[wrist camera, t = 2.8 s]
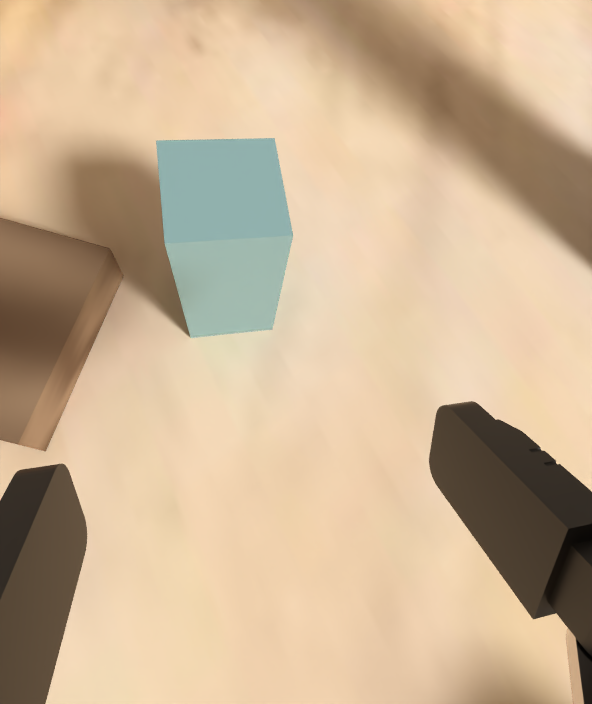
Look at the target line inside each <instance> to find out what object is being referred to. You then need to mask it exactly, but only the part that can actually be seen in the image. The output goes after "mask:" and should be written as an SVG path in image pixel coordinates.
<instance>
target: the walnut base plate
mask: <svg viewBox="0 0 592 704" xmlns="http://www.w3.org/2000/svg"><path fill="white" fill-rule="evenodd" d="M122 278H123V274H122V272H121V270H120V268H119V266H118V264H117V262H116V260H115V258H114V256H113V254H112V252H111V250H110V249H109V248H106V247H102V246H99V245H95V244H92V243H88V242H84V241H81V240H77V239H74V238H70V237H66V236H63V235H59V234H56V233H52V232H48V231H45V230H41V229H38V228H34V227H31V226H27V225H23V224H20V223H16V222H13V221H9V220H5V219H2V218H0V440H3V441H6V442H10V443H14V444H18V445H22V446H27V447H31V448H35V449H39V450H43V451H46V449H47V447H48V444H49V442H50V440H51V438H52V435H53V433H54V431H55V429H56V426H57V424H58V422H59V420H60V417H61V415H62V413H63V411H64V408H65V406H66V404H67V402H68V399H69V397H70V395H71V393H72V390H73V388H74V386H75V384H76V381H77V379H78V377H79V375H80V372H81V370H82V368H83V366H84V363H85V361H86V359H87V357H88V354H89V352H90V350H91V348H92V345H93V343H94V341H95V339H96V336H97V334H98V332H99V330H100V327H101V325H102V323H103V321H104V318H105V316H106V314H107V312H108V309H109V307H110V305H111V302H112V300H113V298H114V296H115V293H116V291H117V289H118V287H119V284H120V282H121V280H122Z"/></svg>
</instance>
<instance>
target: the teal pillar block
mask: <svg viewBox="0 0 592 704" xmlns="http://www.w3.org/2000/svg"><path fill="white" fill-rule="evenodd" d="M156 144H157V157H158V169H159V181H160V193H161V206H162V218H163V230H164V243H165V247H166V251H167V254H168V258H169V261H170V265H171V269H172V272H173V276H174V280H175V283H176V287H177V290H178V294H179V298H180V301H181V305H182V309H183V312H184V316H185V319H186V323H187V327H188V330H189V334H190V337H191V338H195V337H204V336H214V335H223V334H233V333H243V332H252V331H262V330H271V329H272V328H273V324H274V319H275V315H276V310H277V306H278V301H279V297H280V292H281V288H282V283H283V279H284V274H285V270H286V265H287V261H288V256H289V252H290V247H291V243H292V238H293V233H292V227H291V222H290V217H289V212H288V206H287V201H286V196H285V191H284V186H283V180H282V175H281V170H280V165H279V159H278V154H277V149H276V144H275V139H274V138H265V139H214V140H163V141H156Z"/></svg>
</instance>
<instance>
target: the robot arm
mask: <svg viewBox="0 0 592 704" xmlns="http://www.w3.org/2000/svg"><path fill="white" fill-rule="evenodd" d="M429 465H430V470H431V474H432V477H433V479H434V481H435V483H436V485H437V486H438V488H439V489H440V491H441V492H442V493H443V495H444V496H445V498H446V499H447V500H448V502H449V503H450V504H451V506H452V507H453V509H454V510H455V511H456V513H457V514H458V516H459V517H460V518H461V520H462V521H463V523H464V524H465V525H466V527H467V528H468V529H469V531H470V532H471V534H472V535H473V536H474V538H475V539H476V541H477V542H478V543H479V545H480V546H481V548H482V549H483V550H484V552H485V553H486V554H487V556H488V557H489V559H490V560H491V561H492V563H493V564H494V566H495V567H496V568H497V570H498V571H499V573H500V574H501V575H502V577H503V578H504V579H505V581H506V582H507V584H508V585H509V586H510V588H511V589H512V591H513V592H514V593H515V595H516V596H517V598H518V599H519V600H520V602H521V603H522V604H523V606H524V607H525V609H526V610H527V611H528V613H529V614H530V616H531V617H532V618H533V619H536V618H540V617H544V616H548V615H551V614H555V613H557V614H558V616H559V617H560V618H561V619H562V621H563V622H564V623H565V625H566V626H567V627H568V629H567V633H566V644H567V653H568V662H569V671H570V680H571V689H572V698H573V704H592V492H591V491H590V490H589V489H588V488H587V487H586V486H585V485H583V484H582V483H581V482H580V481H579V480H578V479H576V478H575V477H574V476H573V475H572V474H571V473H570V472H568V471H567V470H566V469H565V468H564V467H563V466H561V465H560V464H558V465H557V464H556V460H554V459H553V458H552V457H551V456H550V455H549V454H548V453H546V452H545V451H541V449H540V447H539V446H538V445H537V444H536V443H535V442H534V441H533V440H531V439H530V438H529V437H528V436H527V435H526V434H524V433H523V432H522V431H520V430H518V429H516V428H514V427H512V426H511V425H509V424H507V423H505V422H503V421H501V420H495V419H494V418H493V417H492V416H491V415H490V414H489V413H488V412H486V411H485V410H484V409H483V408H482V407H481V406H480V405H479V404H477V403H476V402H472V401H471V402H464V403H457V404H450V405H444V406H441V407H439V409H438V410H437V413H436V419H435V425H434V431H433V438H432V444H431V450H430V456H429ZM86 545H87V527H86V521H85V517H84V514H83V511H82V508H81V505H80V502H79V499H78V496H77V494H76V491H75V488H74V485H73V482H72V479H71V476H70V473H69V470H68V468H67V467H66V466H65V465H64V464H57V465H50V466H43V467H37V468H30V469H23V470H19V471H18V472H17V473H16V474H15V475H14V477H13V478H12V480H11V482H10V484H9V486H8V488H7V489H6V491H5V493H4V495H3V497H2V499H1V500H0V704H45V703H46V699H47V695H48V692H49V688H50V684H51V680H52V676H53V673H54V669H55V665H56V661H57V657H58V654H59V650H60V646H61V642H62V639H63V635H64V631H65V627H66V623H67V620H68V616H69V612H70V608H71V605H72V601H73V597H74V593H75V589H76V586H77V582H78V578H79V574H80V571H81V567H82V563H83V559H84V555H85V551H86Z"/></svg>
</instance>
